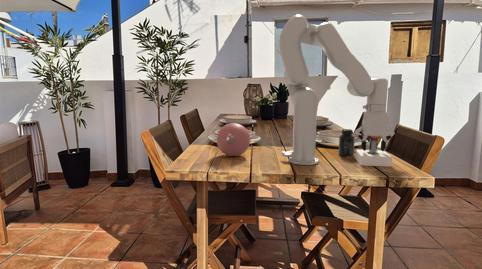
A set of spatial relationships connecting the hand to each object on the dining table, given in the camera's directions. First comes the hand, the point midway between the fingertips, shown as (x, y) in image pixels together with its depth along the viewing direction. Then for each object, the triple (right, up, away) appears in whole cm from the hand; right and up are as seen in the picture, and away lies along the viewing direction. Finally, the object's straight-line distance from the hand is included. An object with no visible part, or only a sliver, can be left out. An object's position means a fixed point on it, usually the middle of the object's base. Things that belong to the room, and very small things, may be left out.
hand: (373, 150), depth 134 cm
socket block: (0, -5, +1) cm, 5 cm away
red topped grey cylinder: (0, -5, +1) cm, 5 cm away
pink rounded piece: (-60, -4, +10) cm, 61 cm away
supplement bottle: (-7, -3, +14) cm, 16 cm away
